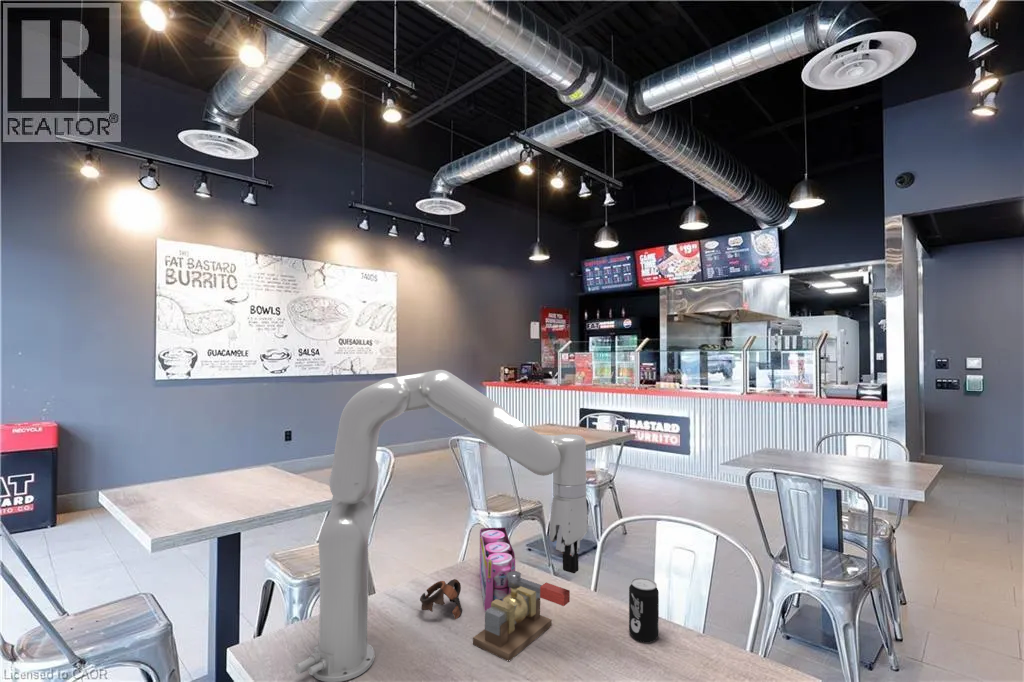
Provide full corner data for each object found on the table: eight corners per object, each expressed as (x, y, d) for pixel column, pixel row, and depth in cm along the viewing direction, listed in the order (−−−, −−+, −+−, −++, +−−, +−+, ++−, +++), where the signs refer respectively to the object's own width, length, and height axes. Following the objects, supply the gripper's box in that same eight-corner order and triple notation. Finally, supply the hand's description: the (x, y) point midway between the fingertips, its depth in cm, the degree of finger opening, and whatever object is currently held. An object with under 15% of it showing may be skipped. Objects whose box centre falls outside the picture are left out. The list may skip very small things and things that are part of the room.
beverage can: (659, 646, 108) (659, 591, 108) (629, 642, 109) (629, 588, 109) (657, 629, 114) (657, 578, 115) (628, 626, 116) (628, 575, 116)
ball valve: (503, 643, 103) (503, 604, 104) (480, 633, 107) (481, 595, 107) (544, 612, 116) (544, 577, 116) (522, 603, 120) (522, 570, 120)
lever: (505, 585, 112) (505, 574, 112) (512, 581, 114) (512, 569, 114) (563, 607, 102) (563, 594, 102) (570, 601, 105) (570, 589, 105)
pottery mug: (453, 628, 115) (436, 598, 115) (425, 635, 119) (409, 606, 119) (476, 593, 126) (460, 566, 126) (450, 601, 130) (435, 574, 130)
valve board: (508, 661, 102) (509, 632, 102) (472, 644, 108) (473, 616, 108) (551, 625, 115) (551, 600, 116) (517, 612, 121) (518, 587, 122)
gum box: (517, 616, 120) (517, 560, 120) (485, 618, 119) (485, 562, 119) (505, 573, 143) (505, 526, 144) (478, 574, 142) (479, 527, 143)
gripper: (571, 480, 119) (572, 555, 119) (538, 494, 107) (538, 578, 107) (599, 485, 115) (600, 563, 114) (567, 500, 103) (568, 588, 102)
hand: (570, 570), depth 110 cm, fingers closed
